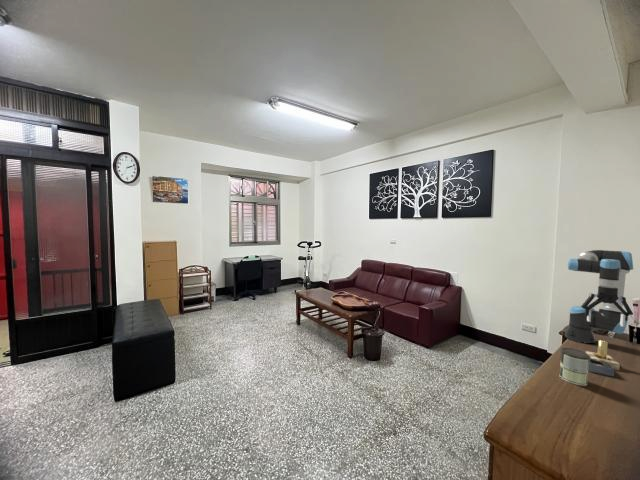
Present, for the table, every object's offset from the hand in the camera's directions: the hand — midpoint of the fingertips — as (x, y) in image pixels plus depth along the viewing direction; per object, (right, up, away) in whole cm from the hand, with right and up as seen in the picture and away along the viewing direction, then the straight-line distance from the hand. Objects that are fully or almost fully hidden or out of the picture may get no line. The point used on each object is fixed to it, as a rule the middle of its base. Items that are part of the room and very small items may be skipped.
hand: (604, 323), depth 148 cm
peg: (-1, -23, +1) cm, 23 cm away
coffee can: (-36, -23, -18) cm, 46 cm away
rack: (-1, -23, +1) cm, 23 cm away
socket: (-12, -23, -7) cm, 27 cm away
